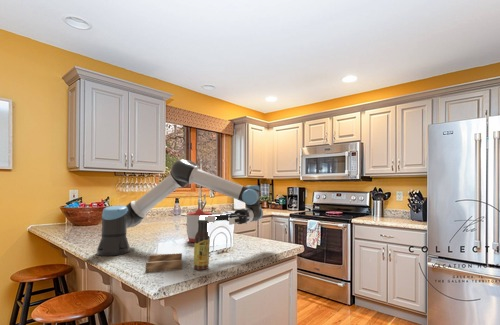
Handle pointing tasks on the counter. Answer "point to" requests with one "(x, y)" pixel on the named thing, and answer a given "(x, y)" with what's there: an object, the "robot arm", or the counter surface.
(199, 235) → the sauce bottle
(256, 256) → the counter surface
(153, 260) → the groove board
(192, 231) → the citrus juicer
